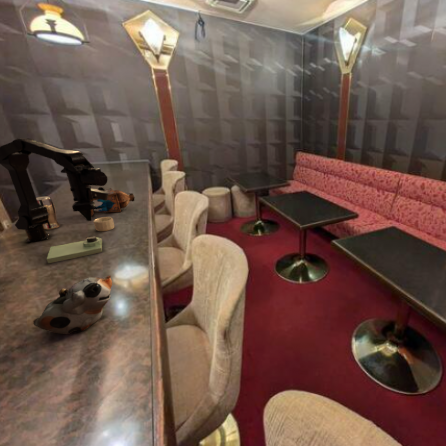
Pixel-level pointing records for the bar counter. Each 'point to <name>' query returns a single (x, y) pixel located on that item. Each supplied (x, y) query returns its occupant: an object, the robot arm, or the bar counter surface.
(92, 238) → the tare button
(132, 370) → the bar counter surface
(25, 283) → the bar counter surface
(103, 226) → the bowl
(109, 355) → the bar counter surface
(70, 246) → the scale
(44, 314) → the lucky cat figurine
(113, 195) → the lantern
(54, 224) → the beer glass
